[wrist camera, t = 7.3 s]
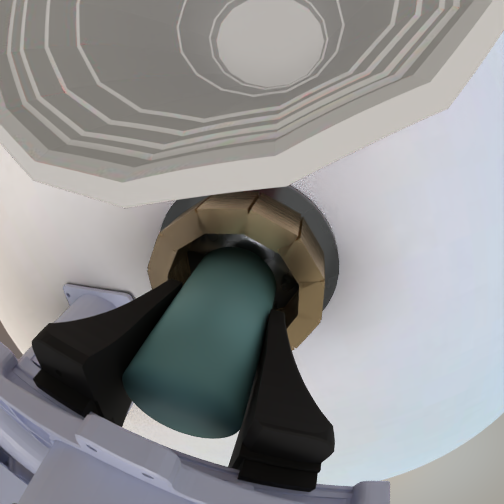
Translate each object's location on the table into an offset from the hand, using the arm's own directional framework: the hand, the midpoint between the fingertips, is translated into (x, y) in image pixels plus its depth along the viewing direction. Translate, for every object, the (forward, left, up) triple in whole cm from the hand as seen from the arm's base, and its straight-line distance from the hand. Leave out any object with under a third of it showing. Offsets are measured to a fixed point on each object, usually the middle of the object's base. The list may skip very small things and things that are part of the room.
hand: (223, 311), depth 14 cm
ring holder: (0, 0, -5) cm, 5 cm away
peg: (0, 0, -2) cm, 2 cm away
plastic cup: (+13, -2, -5) cm, 14 cm away
